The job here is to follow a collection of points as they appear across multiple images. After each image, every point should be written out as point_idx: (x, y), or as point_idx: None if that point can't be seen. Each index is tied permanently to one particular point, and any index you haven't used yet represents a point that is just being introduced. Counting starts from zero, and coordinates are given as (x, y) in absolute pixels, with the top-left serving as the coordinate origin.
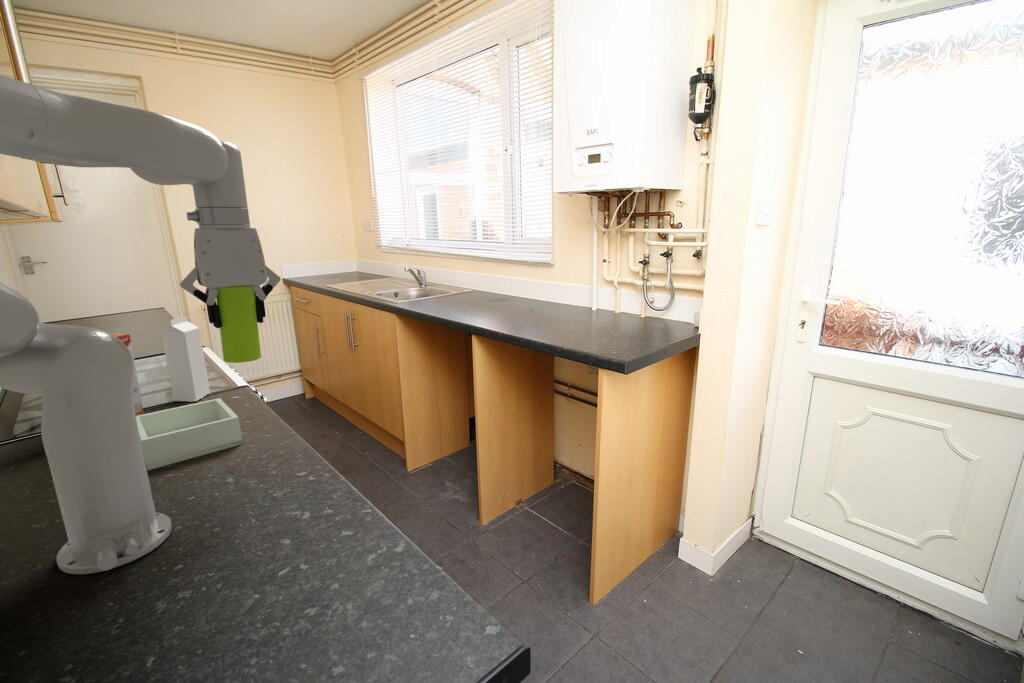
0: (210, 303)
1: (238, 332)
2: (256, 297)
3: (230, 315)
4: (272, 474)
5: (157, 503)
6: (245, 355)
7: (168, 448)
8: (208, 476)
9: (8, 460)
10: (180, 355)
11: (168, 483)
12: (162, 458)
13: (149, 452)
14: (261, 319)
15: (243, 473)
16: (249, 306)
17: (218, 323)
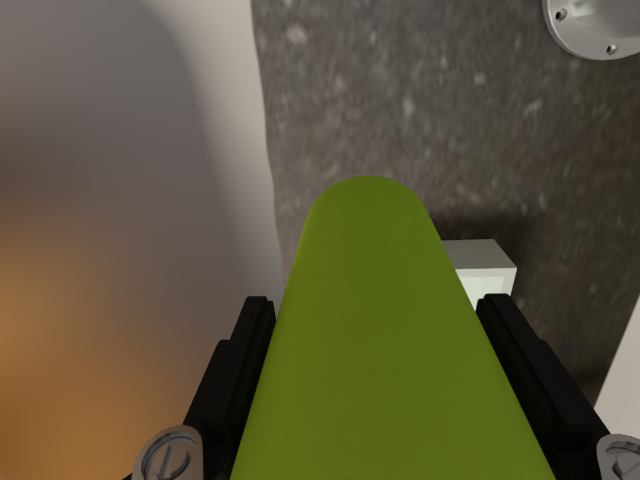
0: (634, 453)
1: (401, 234)
2: (219, 473)
3: (456, 314)
4: (344, 74)
5: (525, 99)
6: (371, 184)
7: (469, 254)
8: (432, 149)
9: (603, 384)
10: None
11: (487, 167)
12: (475, 246)
13: (498, 254)
14: (253, 306)
15: (383, 119)
16: (311, 351)
17: (508, 309)
